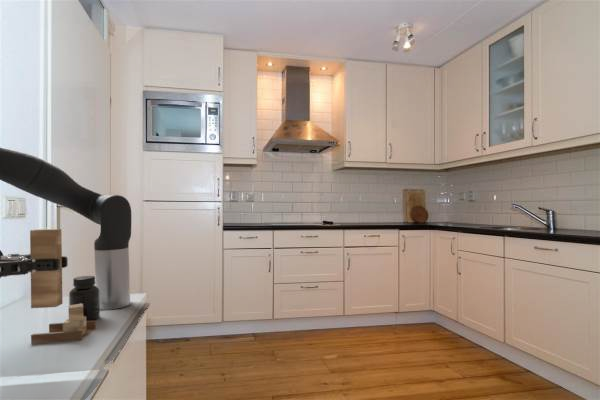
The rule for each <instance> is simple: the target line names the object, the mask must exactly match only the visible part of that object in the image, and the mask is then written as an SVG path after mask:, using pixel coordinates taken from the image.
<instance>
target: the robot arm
mask: <svg viewBox="0 0 600 400" xmlns="http://www.w3.org/2000/svg"><path fill="white" fill-rule="evenodd" d="M0 181H2V182H3V183H6V184H9V185H10V186H13V187H15V188H16V189H19V190H21V191H23V192H26V193H28V194H31V195H32V196H35V197H37V198H41V199H42V200H46V201H48V202H50V203H52V204H56V205H59V206H61V207H62V206H63V207H65V208H67V209H69V210H72V211H74V212H76V213H77V214H78V215H80V216H83V217H84V218H85V219H88V220H90V221H91V222H93V223H94V224H97V225H99V226H100V232H99V235H98V237H97V238H96V239H95V240H94V243H93V245H94V246H93V248H94V273H95V274H94V275H95V276H94V277H95V284H94V286H96V287H98V289H99V295H100V311H102V310H103V311H105V310H106V311H109V310H118V309H120V308H125V307H127V306H130V305H131V290H130V289H131V287H130V285H131V281H130V280H131V279H130V257H129V256H130V255H129V254H130V253H129V243H130V239H131V236H132V206H131V204H130V202H129V200H128V199H127V198H126V197H125V196H123V195H119V194H108V195H105V194H101V193H99V192H95V191H93V190H90V189H88V188H86V187H84V186H83V185H80V184H79V183H78V182H76V181H75V180H74V179H73V178H72V177H71V176H70V175H69V174H68V173H67V172H65V171H64V170H63V169H61V168H60V167H58V166H56V165H54V164H53V163H50V162H48V161H46V160H45V159H43V158H41V157H39V156H36V155H34V154H31V153H28V152H24V151H21V150H16V149H12V148H7V147H3V146H0ZM68 261H69V260H68V257H67V256H65V255H62V269H64V268H66V267H68ZM58 269H60V260H59V259H58V258H56V259H38V260H37V259H35V258H32V259H30V253H28V254H20V253H8V254H7V255H4V253H3V252H2V250H1V249H0V279H1V278H5V277H10V276H23V275H24V276H25V275H26V274H27V275H28V274H29V273H31V272H32V273H35V272H37V270H38V271H52V270H58Z"/></svg>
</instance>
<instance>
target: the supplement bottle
mask: <svg viewBox="0 0 600 400" xmlns="http://www.w3.org/2000/svg"><path fill="white" fill-rule="evenodd" d="M72 286H73V288H72V289H71V290H70V291H69V294H68V306H69V305H76V304H82V303H83V317H86V321H95V320H96V321H97V320H99V319H100V317H101V315H100V313H101V310H100V295H99V289H98V287H96V285H95V276H94V275H82V276H77V277H74V278H73V284H72Z"/></svg>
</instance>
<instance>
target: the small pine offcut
mask: <svg viewBox="0 0 600 400" xmlns="http://www.w3.org/2000/svg"><path fill="white" fill-rule="evenodd" d="M67 309H68V319H69V322H73V321H79V320H84V317H83V303H82V304H76V305H69V304H68V307H67Z"/></svg>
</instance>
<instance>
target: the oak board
mask: <svg viewBox="0 0 600 400" xmlns="http://www.w3.org/2000/svg"><path fill="white" fill-rule="evenodd" d="M29 237H30V238H29V240H30V241H29V244H30V247H29V248H30V249H29V250H30V251H29V252H30V253H29V254H30V259H32V258H35V259H37V260H38V259H56V258H58V259H59V260H60V269H58V270H52V271H38V270H37V272H35V273H32V272H30V308H31V309H41V308H42V309H43V308H44V309H45V308H57V307H59V306H61V305H62V304H63V268H62V256H63V253H62V252H63V247H62V245H63V244H62V243H63V242H62V228H51V229H50V228H48V229H47V228H44V229H43V228H42V229H41V228H40V229H30V230H29Z"/></svg>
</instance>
